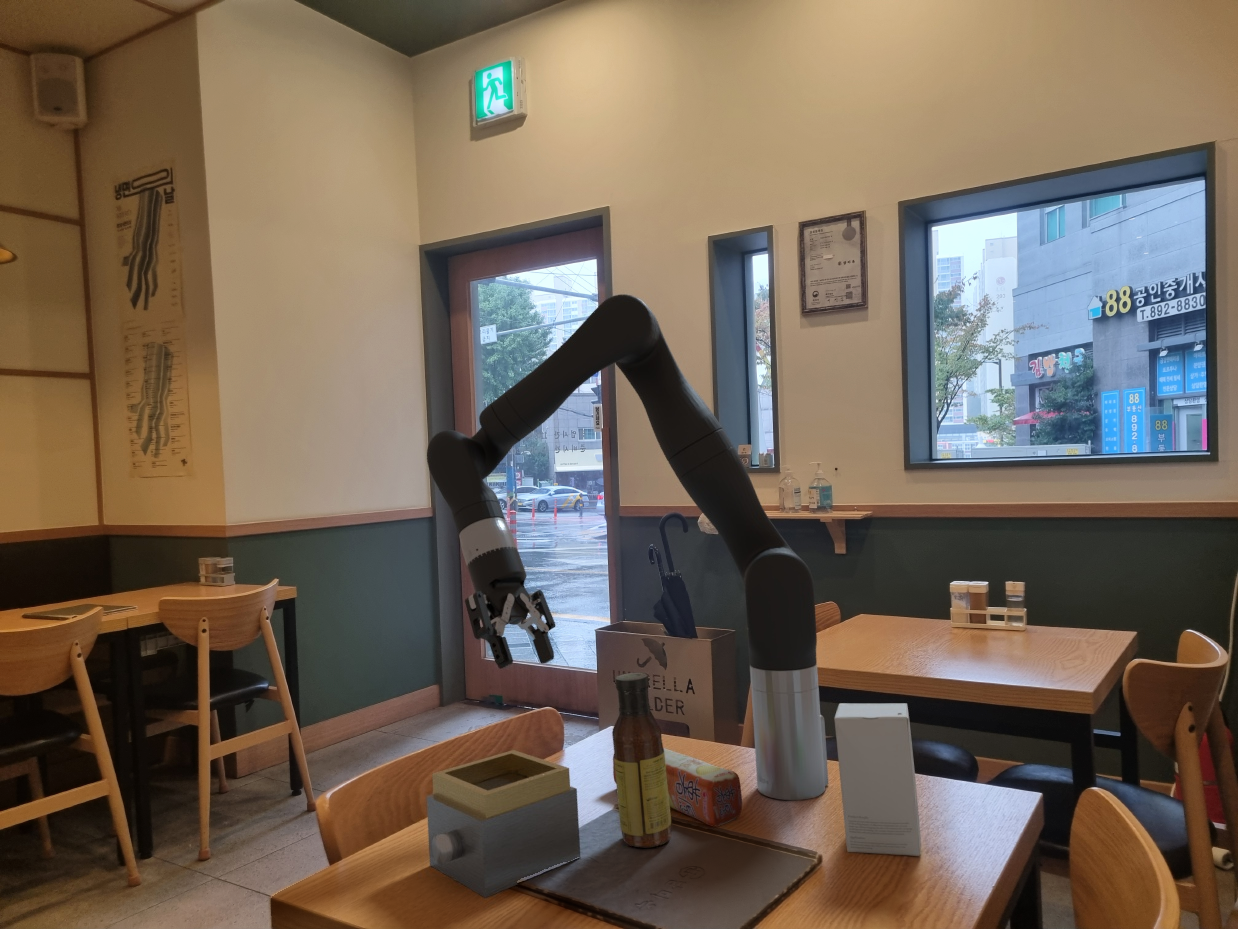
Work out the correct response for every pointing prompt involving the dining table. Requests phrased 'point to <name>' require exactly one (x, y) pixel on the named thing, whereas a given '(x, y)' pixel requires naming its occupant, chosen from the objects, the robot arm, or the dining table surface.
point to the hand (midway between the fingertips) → (528, 663)
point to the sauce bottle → (640, 766)
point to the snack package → (701, 789)
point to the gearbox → (501, 820)
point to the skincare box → (878, 779)
